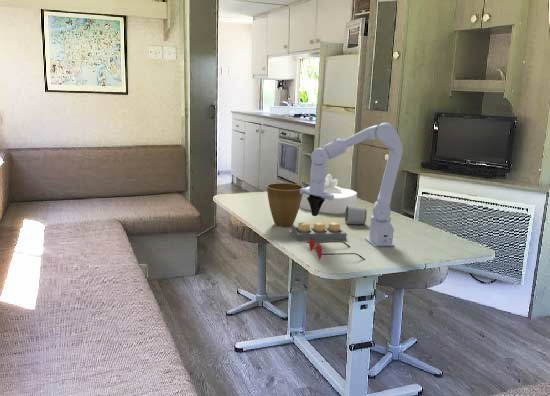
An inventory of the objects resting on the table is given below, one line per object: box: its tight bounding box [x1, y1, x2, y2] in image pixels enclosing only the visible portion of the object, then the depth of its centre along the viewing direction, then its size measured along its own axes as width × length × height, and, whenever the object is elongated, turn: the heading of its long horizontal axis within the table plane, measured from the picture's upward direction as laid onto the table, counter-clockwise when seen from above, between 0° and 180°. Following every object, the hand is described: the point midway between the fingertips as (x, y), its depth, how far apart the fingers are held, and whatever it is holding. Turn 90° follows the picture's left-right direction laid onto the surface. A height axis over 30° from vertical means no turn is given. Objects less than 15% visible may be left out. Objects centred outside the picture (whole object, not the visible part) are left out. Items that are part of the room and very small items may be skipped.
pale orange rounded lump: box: [297, 222, 311, 232], centre depth 191 cm, size 4×4×3 cm
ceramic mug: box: [344, 206, 368, 225], centre depth 214 cm, size 11×8×8 cm
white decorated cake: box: [299, 173, 358, 214], centre depth 241 cm, size 25×25×16 cm
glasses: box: [306, 237, 366, 261], centre depth 173 cm, size 14×16×5 cm
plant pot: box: [266, 182, 305, 228], centre depth 205 cm, size 15×15×16 cm
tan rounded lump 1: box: [312, 221, 326, 232], centre depth 192 cm, size 4×4×3 cm
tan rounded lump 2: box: [328, 221, 341, 232], centre depth 193 cm, size 4×4×3 cm
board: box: [289, 226, 348, 241], centre depth 194 cm, size 13×19×2 cm
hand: (314, 215), depth 192 cm, fingers closed
